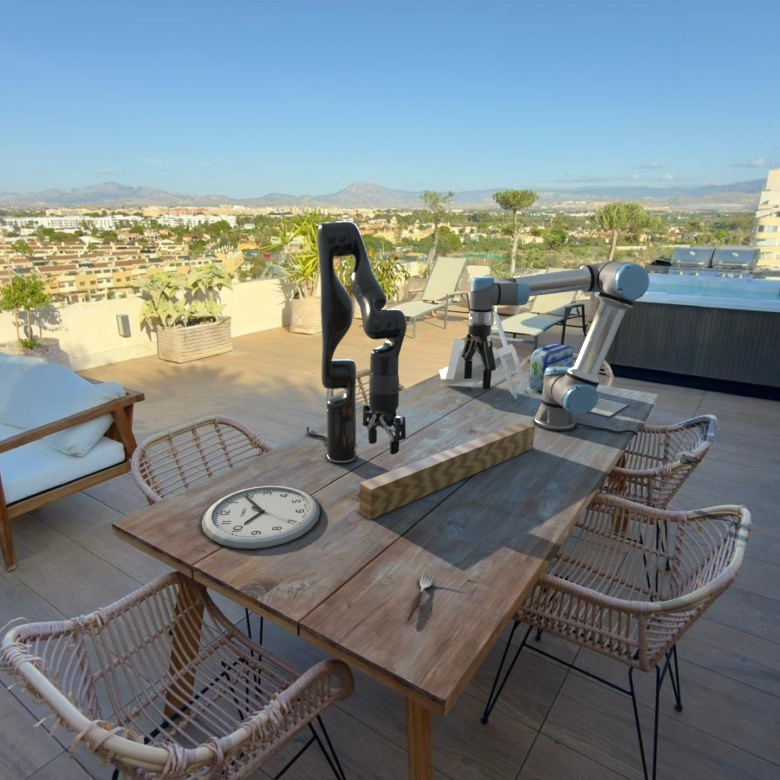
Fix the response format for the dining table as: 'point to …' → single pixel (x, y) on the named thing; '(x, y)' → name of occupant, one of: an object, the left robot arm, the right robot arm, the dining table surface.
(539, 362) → the lunch box
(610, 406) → the invitation card
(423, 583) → the fork
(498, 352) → the white plastic object
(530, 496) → the dining table surface
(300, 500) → the wall clock
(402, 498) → the post
